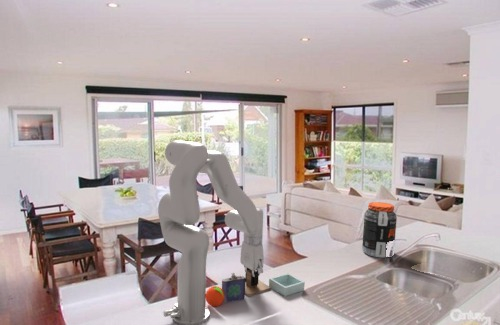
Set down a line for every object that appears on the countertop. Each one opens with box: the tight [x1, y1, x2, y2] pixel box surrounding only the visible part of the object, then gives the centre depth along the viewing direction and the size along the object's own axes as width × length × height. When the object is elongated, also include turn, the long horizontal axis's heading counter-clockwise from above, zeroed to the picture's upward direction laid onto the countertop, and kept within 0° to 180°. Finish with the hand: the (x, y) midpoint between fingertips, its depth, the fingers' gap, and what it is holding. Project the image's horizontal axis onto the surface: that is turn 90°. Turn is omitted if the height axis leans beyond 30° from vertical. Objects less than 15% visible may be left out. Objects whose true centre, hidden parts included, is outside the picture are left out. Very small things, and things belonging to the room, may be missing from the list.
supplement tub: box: [361, 201, 398, 259], centre depth 194 cm, size 16×16×26 cm
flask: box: [221, 272, 246, 304], centre depth 140 cm, size 9×3×11 cm, turn 113°
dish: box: [268, 273, 305, 297], centre depth 151 cm, size 10×10×4 cm
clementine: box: [206, 285, 225, 307], centre depth 136 cm, size 8×7×7 cm
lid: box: [245, 270, 272, 297], centre depth 151 cm, size 11×11×7 cm
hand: (251, 282), depth 151 cm, fingers closed on lid, 3 cm apart
